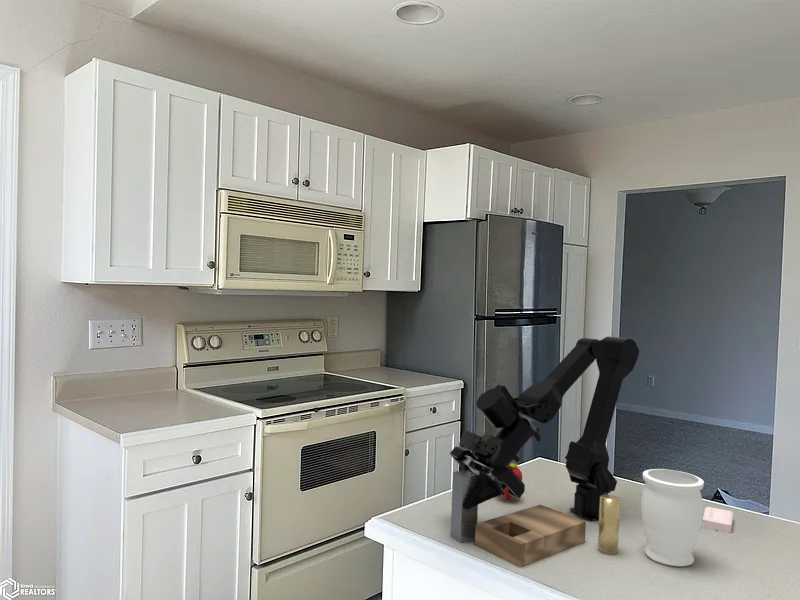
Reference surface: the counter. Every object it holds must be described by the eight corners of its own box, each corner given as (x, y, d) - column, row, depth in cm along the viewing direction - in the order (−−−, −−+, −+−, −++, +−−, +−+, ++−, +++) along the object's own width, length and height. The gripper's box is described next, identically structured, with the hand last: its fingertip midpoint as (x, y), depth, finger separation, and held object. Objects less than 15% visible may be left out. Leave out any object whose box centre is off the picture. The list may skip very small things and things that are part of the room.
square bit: (466, 532, 121) (468, 469, 120) (476, 540, 117) (479, 475, 117) (450, 535, 119) (453, 471, 119) (460, 542, 116) (463, 477, 116)
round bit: (608, 545, 117) (610, 493, 117) (622, 553, 114) (624, 500, 114) (593, 548, 116) (595, 495, 115) (607, 556, 112) (609, 502, 112)
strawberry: (498, 504, 138) (500, 460, 137) (492, 493, 145) (494, 451, 145) (524, 505, 138) (526, 461, 137) (517, 494, 145) (519, 452, 145)
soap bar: (701, 529, 128) (702, 517, 128) (705, 516, 136) (705, 505, 136) (730, 535, 126) (731, 523, 126) (732, 521, 133) (733, 510, 133)
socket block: (539, 523, 127) (540, 504, 127) (585, 541, 118) (585, 521, 118) (474, 545, 115) (475, 523, 115) (520, 567, 107) (521, 544, 106)
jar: (696, 576, 106) (700, 489, 105) (633, 560, 111) (637, 477, 111) (703, 554, 115) (707, 475, 114) (644, 540, 120) (648, 464, 120)
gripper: (459, 407, 128) (410, 464, 123) (514, 426, 111) (460, 494, 106) (489, 441, 132) (443, 499, 127) (546, 465, 115) (496, 532, 110)
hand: (458, 504), depth 117 cm, fingers closed on square bit, 4 cm apart
